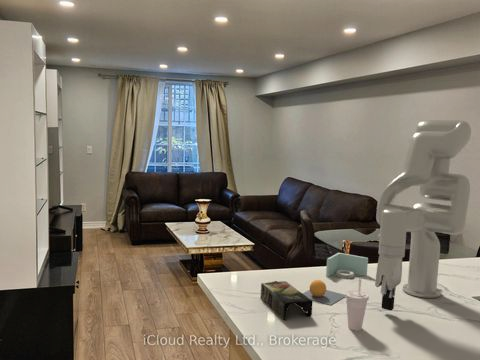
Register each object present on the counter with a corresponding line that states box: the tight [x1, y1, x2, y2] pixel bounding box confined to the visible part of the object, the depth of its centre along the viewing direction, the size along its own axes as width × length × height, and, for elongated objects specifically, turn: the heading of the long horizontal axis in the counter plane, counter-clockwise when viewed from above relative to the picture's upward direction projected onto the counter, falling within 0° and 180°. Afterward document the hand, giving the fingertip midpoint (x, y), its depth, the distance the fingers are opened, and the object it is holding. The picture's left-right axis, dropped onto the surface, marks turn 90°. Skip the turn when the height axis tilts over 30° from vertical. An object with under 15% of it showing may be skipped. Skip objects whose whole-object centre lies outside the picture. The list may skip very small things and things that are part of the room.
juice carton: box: [259, 280, 313, 322], centre depth 145 cm, size 20×10×6 cm, turn 19°
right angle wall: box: [325, 252, 369, 279], centre depth 180 cm, size 12×12×8 cm
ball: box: [309, 279, 327, 297], centre depth 156 cm, size 6×6×6 cm
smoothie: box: [344, 279, 370, 332], centre depth 131 cm, size 6×6×14 cm
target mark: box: [302, 289, 346, 306], centre depth 157 cm, size 12×12×1 cm
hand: (387, 308), depth 143 cm, fingers closed
